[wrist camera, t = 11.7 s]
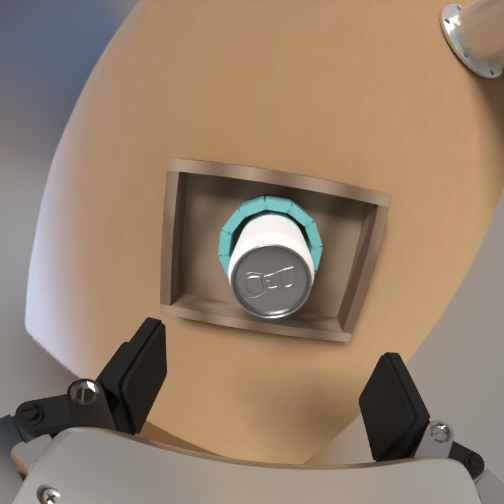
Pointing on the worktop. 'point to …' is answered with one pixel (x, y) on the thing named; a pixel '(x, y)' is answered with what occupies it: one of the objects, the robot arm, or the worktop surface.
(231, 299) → the walled box
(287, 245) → the can
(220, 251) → the inlet collar
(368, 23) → the worktop surface
